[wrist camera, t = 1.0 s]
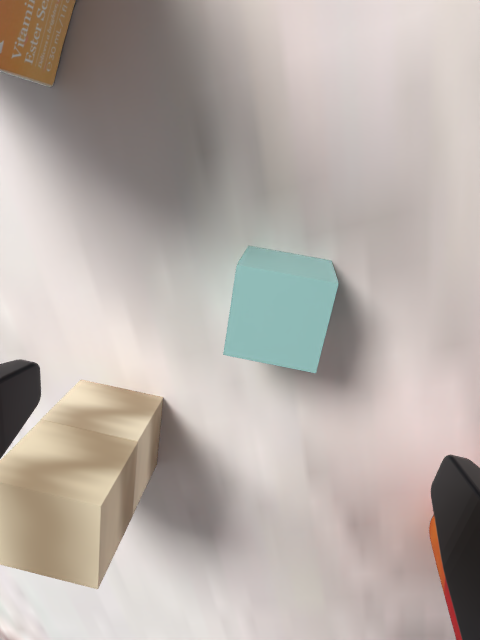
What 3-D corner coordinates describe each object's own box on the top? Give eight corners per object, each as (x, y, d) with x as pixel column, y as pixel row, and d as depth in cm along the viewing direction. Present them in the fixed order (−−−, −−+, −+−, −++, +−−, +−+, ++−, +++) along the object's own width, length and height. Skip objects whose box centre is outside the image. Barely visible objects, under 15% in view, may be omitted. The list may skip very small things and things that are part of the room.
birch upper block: (138, 441, 20) (100, 506, 16) (132, 516, 22) (98, 589, 18) (41, 419, 20) (-18, 478, 16) (44, 494, 22) (-8, 562, 18)
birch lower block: (163, 396, 23) (137, 441, 20) (156, 464, 25) (132, 515, 22) (81, 379, 24) (40, 419, 20) (80, 446, 26) (43, 494, 22)
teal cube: (331, 260, 19) (338, 283, 16) (313, 335, 21) (315, 373, 17) (248, 245, 20) (236, 264, 16) (236, 320, 21) (223, 354, 17)
